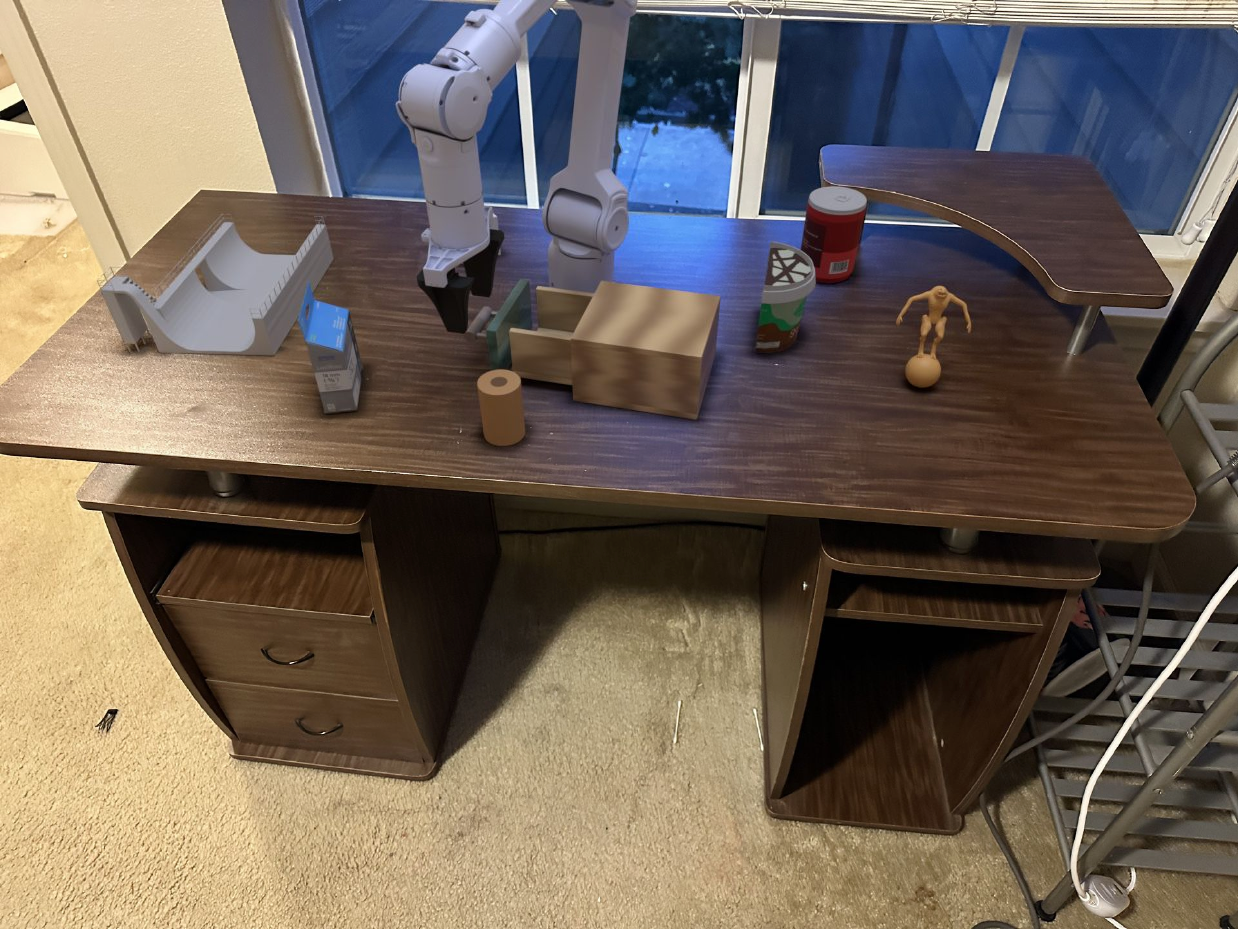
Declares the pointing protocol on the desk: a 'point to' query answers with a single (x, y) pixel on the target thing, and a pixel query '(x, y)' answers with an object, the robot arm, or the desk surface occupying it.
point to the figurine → (924, 366)
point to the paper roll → (501, 407)
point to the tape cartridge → (332, 353)
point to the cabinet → (645, 349)
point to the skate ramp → (222, 297)
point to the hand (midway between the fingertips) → (469, 312)
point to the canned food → (833, 231)
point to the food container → (783, 297)
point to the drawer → (532, 332)
